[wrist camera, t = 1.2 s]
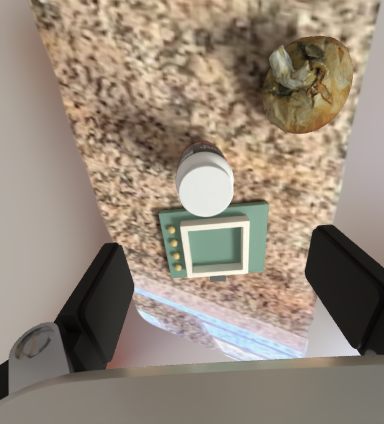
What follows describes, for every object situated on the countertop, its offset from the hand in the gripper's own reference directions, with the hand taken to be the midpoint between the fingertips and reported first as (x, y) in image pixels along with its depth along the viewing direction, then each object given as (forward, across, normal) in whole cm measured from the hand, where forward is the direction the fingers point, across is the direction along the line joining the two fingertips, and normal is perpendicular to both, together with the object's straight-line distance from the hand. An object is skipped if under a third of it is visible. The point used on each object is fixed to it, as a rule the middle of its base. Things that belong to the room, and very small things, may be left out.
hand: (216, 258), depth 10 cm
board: (+18, -1, +12) cm, 22 cm away
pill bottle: (+18, 0, 0) cm, 18 cm away
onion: (+18, -10, -7) cm, 22 cm away
